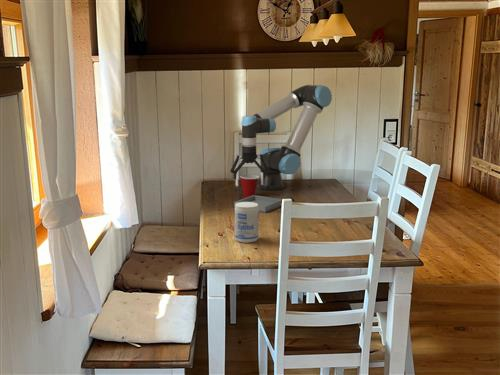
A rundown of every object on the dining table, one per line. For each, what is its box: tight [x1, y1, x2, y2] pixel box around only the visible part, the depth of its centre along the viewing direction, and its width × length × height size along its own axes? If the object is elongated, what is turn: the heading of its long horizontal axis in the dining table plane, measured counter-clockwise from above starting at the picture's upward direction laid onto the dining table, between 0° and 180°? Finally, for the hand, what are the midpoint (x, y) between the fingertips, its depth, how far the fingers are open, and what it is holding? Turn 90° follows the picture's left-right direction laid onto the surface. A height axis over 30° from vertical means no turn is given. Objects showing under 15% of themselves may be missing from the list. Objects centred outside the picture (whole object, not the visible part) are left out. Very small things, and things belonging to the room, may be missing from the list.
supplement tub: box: [234, 202, 260, 244], centre depth 215 cm, size 10×10×15 cm
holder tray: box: [233, 194, 283, 214], centre depth 269 cm, size 18×18×3 cm
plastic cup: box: [238, 173, 260, 199], centre depth 287 cm, size 11×11×12 cm
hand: (249, 185), depth 287 cm, fingers open, 13 cm apart
